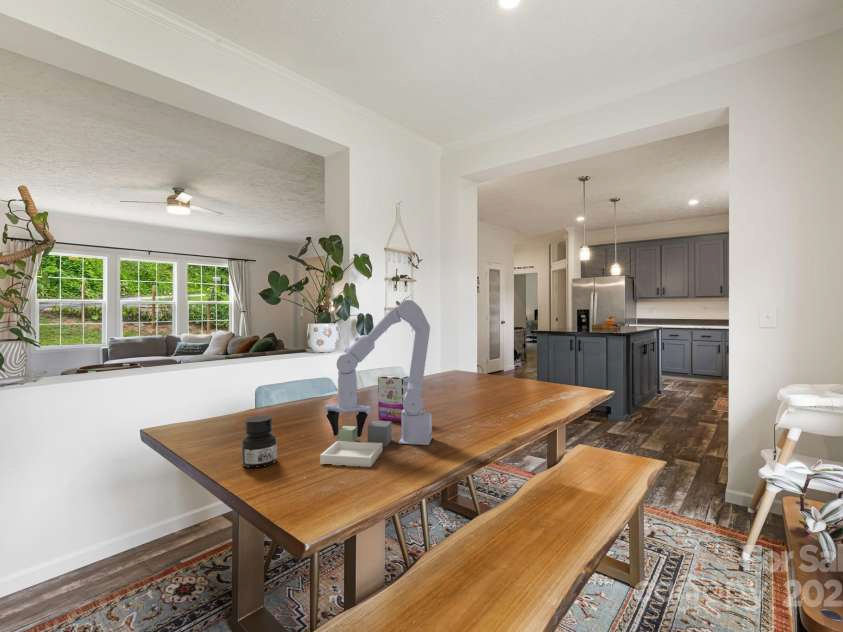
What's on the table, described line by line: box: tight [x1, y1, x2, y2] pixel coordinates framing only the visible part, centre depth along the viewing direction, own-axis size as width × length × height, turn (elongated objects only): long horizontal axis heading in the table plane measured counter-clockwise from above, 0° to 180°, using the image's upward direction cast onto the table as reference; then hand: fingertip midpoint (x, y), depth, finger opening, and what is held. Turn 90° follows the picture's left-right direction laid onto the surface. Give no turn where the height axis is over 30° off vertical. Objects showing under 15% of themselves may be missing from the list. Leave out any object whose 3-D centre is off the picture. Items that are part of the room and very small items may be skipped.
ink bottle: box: [241, 415, 278, 468], centre depth 113 cm, size 10×9×12 cm
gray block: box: [367, 420, 393, 447], centre depth 129 cm, size 6×6×6 cm
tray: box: [319, 440, 384, 468], centre depth 115 cm, size 14×12×2 cm
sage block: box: [337, 425, 358, 442], centre depth 129 cm, size 4×4×4 cm
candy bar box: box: [377, 374, 409, 423], centre depth 155 cm, size 11×5×16 cm, turn 62°
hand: (347, 435), depth 129 cm, fingers open, 7 cm apart
